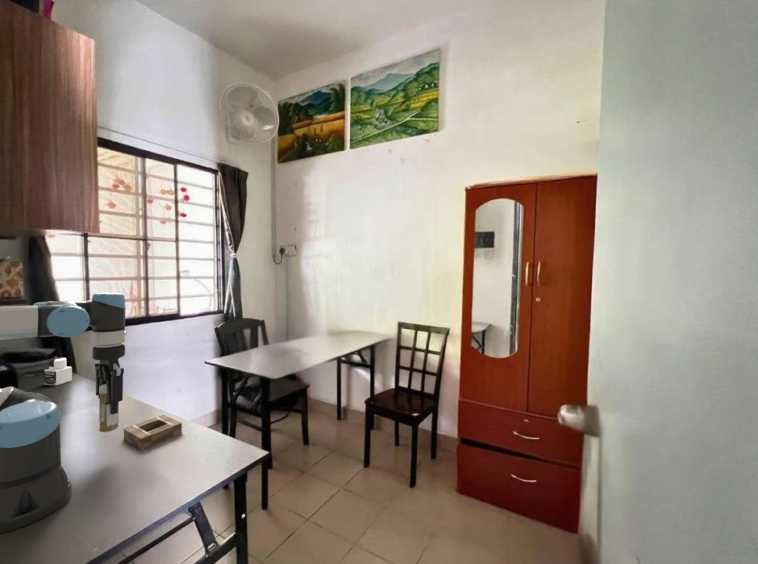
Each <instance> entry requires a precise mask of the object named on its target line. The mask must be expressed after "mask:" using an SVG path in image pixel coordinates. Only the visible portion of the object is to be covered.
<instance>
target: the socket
mask: <svg viewBox="0 0 758 564" xmlns="http://www.w3.org/2000/svg"><path fill="white" fill-rule="evenodd" d="M182 424H183V423H182V422H181V421H178V420H177V419H175V418H171V417H169V416H168V415H165V414H162V415H159V416H156V417H153V418H150V419H147V420H145V421H142V422H138V423H136V424H132V425H131V426H128V427H125V428H123V440H124V441H126V442H128V443H130V445H133V446H134V447H136V448H138V449H140V451H141V450H144V449H147V448H149V447H151V446H154V445H156V444H158V443H162V442H164V441H166V440H168V438H169V439H171V438H173V437H176V436H178V435H180V434H179V433H181V434H182V433H183V425H182ZM177 434H178V435H177ZM175 435H176V436H175Z"/></svg>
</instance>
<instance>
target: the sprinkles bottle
mask: <svg viewBox="0 0 758 564" xmlns="http://www.w3.org/2000/svg"><path fill="white" fill-rule="evenodd" d="M99 393H100V399H99V400H100V403H99V402H98V403H99V404H98V409H99V411H98V412H99V413H98V417H99V419H98V420H100V421H99V430H98V431H99V432H100V433H110V432H113V431H115V430H117V429H118V428H119V427H120V426H119V423H116V424H113V425H110V426H106V405H105V403H107V402H108V394H107V384H104V385H101V386H100V387H99Z"/></svg>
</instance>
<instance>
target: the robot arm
mask: <svg viewBox="0 0 758 564" xmlns="http://www.w3.org/2000/svg"><path fill="white" fill-rule="evenodd" d="M125 299H126V298H125V295H124V294H123V293H121V292H98V293H97V292H95V293H93V294H92V298H91V299H89V300H88V299H87V300H63V301H62V300H61V301H60V300H59V301H53V300H49V301H41V302H40V301H39V302H38V301H37V302H35V303H33V304H32V305H7V306H6V305H5V306H3V305H2V306H0V341H1V340H12V339H13V340H14V339H29V338H43V337H44V338H46V337H56V336H57V337H61V338H71V337H77V336H79V335H80V334H82V333H84V332H85V331H86V330H87V329H88V328H89V327H92V331H91V344H92V345H93V346H92V348H91V350H92V353H91V354H92V355H91V356H92V360H94V361H99V362H95V363H94V368H95V369H94V370H95V396H97V398H98V403H100V393H99V387H100V386H101V385H104V384H107V394H108V402H107V403H105V405H106V426H110V425H113V424H116V423H118V424H119V423H120V420H119V419H120V418H119V417H120V416H119V415H120V413H119V412H120V411H119V410H120V408H119V407H120V403H119V402H122V401H123V400H124V399H123V398H124V397H123V396H124V373H125V372H124V371H125V369H124V367H121V363H120V362H119V359H120V358H123V357H124V356H125V355H126V345H125V342H126V335H127V331H126V308H127V307H126V301H125ZM61 419H62V414H61V412H60V408H59V406H58V404H57V403H55V402H53V401H52V400H51V399H50V398H49V397H47V396H45V395H43V394H40V393H38V392H37V393H36V392H26V391H25V390H21V389H19V388H17V387H14V386H7V387H6V386H5V387H4V388H0V534H2V533H6V532H10V531H14V530H17V529H21V528H23V527H25V526H29V525H31V524H34V523H36V522H38V521H40V520H42V519H44V518H46V517H47V516H50V515H51V514H53V513H54V512H56V511H58V510H59V509H61V508H62V507H63V506H64V505H65V504H66V503H67V502H68V501H69V500H70V498H71V497H72V495H73V485H72V482H71V480H70V479H69V478H68V475H67V473H66V471H65V470H64V467H63V466H62V453H61V452H62V449H61V448H62V447H61V445H62V444H61ZM98 420H99V419H98ZM99 422H100V420H99Z"/></svg>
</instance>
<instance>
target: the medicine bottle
mask: <svg viewBox="0 0 758 564" xmlns="http://www.w3.org/2000/svg"><path fill="white" fill-rule="evenodd" d="M43 379H44V380H43V382H44V384H43V385H45V386H46V385H49V386H59V385H62V384H65V383H69V382H72V381H73V368H72V366H67V358H66V357H56V358H52V359H50V360H48V369H44V370H43Z"/></svg>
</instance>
